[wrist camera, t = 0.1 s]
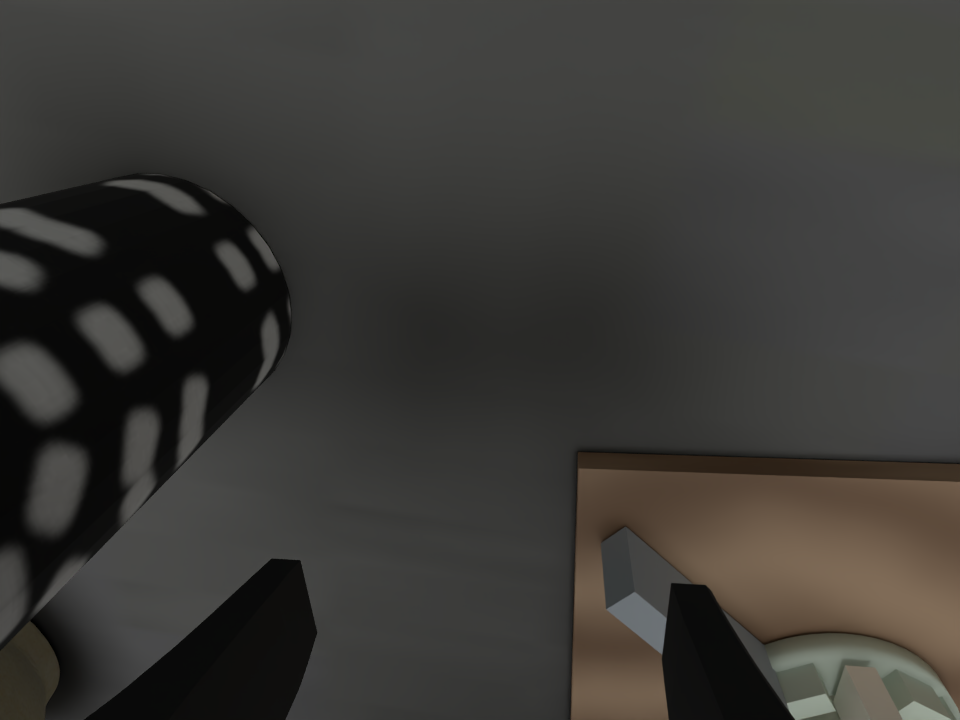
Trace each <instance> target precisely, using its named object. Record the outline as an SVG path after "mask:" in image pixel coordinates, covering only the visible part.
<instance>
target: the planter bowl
mask: <svg viewBox="0 0 960 720" xmlns="http://www.w3.org/2000/svg"><path fill="white" fill-rule="evenodd" d="M59 677H60V669H59V663H58V660H57V657H56V655H55V652H54V650H53V649H52V647H51V646H50V644H49V642H48V641H47V640H46V638H45V637H44V635H43V634H42V633H41V632H40V631H39V630H38V628H37V627H36V626H35V625H34V624H33V623H32V622H31V621H29V622H28V623H27V624H26V625H25V626H24V627H23V628H22V629H21V630H20V631H19V632H18V633H17V634H16V635H15V636H14V637H13V639H12V640H11V641H10V642H9V643H8V644H7V645H6V646H5V647H4V648H3V649H2V650H1V651H0V720H45V706H46V705H47V703H48V701H49V700H50V698H51V696H52V695H53V693H54V691H55V690H56V688H57V685H58V682H59Z"/></svg>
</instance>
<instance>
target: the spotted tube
mask: <svg viewBox="0 0 960 720" xmlns="http://www.w3.org/2000/svg"><path fill="white" fill-rule="evenodd" d="M290 328H291V308H290V300H289V293H288V290H287V286H286V283H285V280H284V277H283V274H282V271H281V269H280V267H279V265H278V263H277V261H276V259H275V258H274V256H273V254H272V252H271V250H270V248H269V246H268V245H267V244H266V242H265V241H264V240H263V239H262V237H261V236H260V235H259V233H258V232H257V231H256V229H255V228H254V227H253V226H252V225H251V224H250V223H249V222H248V221H247V220H246V219H245V218H244V217H243V216H242V215H241V214H240V213H239V212H238V211H237V210H236V209H234V208H233V207H232V206H231V205H229V204H228V203H226V202H225V201H223V200H222V199H220V198H219V197H217V196H216V195H215V194H213V193H212V192H210V191H208V190H206V189H204V188H201V187H199V186H197V185H195V184H192V183H190V182H188V181H186V180H182V179H178V178H174V177H170V176H165V175H161V174H133V175H128V176H123V177H118V178H113V179H109V180H104V181H100V182H96V183H91V184H87V185H82V186H78V187H74V188H69V189H65V190H60V191H56V192H52V193H47V194H43V195H39V196H34V197H30V198H25V199H21V200H17V201H12V202H8V203H4V204H0V651H1V650H2V649H3V648H4V647H5V646H6V645H7V644H8V643H9V642H10V641H11V640H12V639H13V637H14V636H15V635H16V634H17V633H18V632H19V631H20V630H21V629H22V628H23V627H24V626H25V625H26V624H27V623H28V622H29V621H30V620H31V619H32V618H33V617H34V616H35V615H36V614H37V613H38V612H39V611H40V610H41V609H42V608H43V607H44V606H45V605H46V604H47V603H48V602H49V601H50V600H51V599H52V598H53V597H54V596H55V595H56V594H57V592H58V591H59V590H60V589H61V588H62V587H63V586H64V585H65V584H66V583H67V582H68V581H69V580H70V579H71V578H72V577H73V576H74V575H75V574H76V573H77V572H78V571H79V570H80V569H81V568H82V567H83V566H84V565H85V564H86V563H87V562H88V561H89V560H90V559H91V558H92V557H93V556H94V555H95V554H96V553H97V552H98V551H99V550H100V549H101V547H102V546H103V545H104V544H105V543H106V542H107V541H108V540H109V539H110V538H111V537H112V536H113V535H114V534H115V533H116V532H117V531H118V530H119V529H120V528H121V527H122V526H123V525H124V524H125V523H126V522H127V521H128V520H129V519H130V518H131V517H132V516H133V515H134V514H135V513H136V512H137V511H138V510H139V509H140V508H141V507H142V506H143V505H144V504H145V502H146V501H147V500H148V499H149V498H150V497H151V496H152V495H153V494H154V493H155V492H156V491H157V490H158V489H159V488H160V487H161V486H162V485H163V484H164V483H165V482H166V481H167V480H168V479H169V478H170V477H171V476H172V475H173V474H174V473H175V472H176V471H177V470H178V469H179V468H180V467H181V466H182V465H183V464H184V463H185V462H186V461H187V460H188V459H189V458H190V456H191V455H192V454H193V453H194V452H195V451H196V450H197V449H198V448H199V447H200V446H201V445H202V444H203V443H204V442H205V441H206V440H207V439H208V438H209V437H210V436H211V435H212V434H213V433H214V432H215V431H216V430H217V429H218V428H219V427H220V426H221V425H222V424H223V423H224V422H225V421H226V420H227V419H228V418H229V417H230V416H231V415H232V414H233V413H234V411H235V410H236V409H237V408H238V407H239V406H240V405H241V404H242V403H243V402H244V401H245V400H246V399H247V398H248V397H249V396H250V395H251V394H252V393H253V392H254V391H255V390H256V389H257V388H258V387H259V386H260V385H261V384H262V383H263V382H264V381H265V380H266V379H267V378H268V377H269V376H270V375H271V374H272V373H273V372H274V371H275V369H276V367H277V366H278V364H279V362H280V361H281V359H282V357H283V356H284V354H285V350H286V347H287V344H288V340H289V337H290Z"/></svg>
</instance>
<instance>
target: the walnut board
mask: <svg viewBox="0 0 960 720" xmlns="http://www.w3.org/2000/svg"><path fill="white" fill-rule="evenodd" d="M624 527H627V528H628V529H629V530H631V531H632V532H633V533H634V534H635V535H636V536H638V537H639V538H640V539H641V540H642V541H643V542H645V543H646V544H647V545H648V546H649V547H650V548H652V549H653V550H654V551H655V552H656V553H657V554H658V555H660V556H661V557H662V558H663V559H664V560H665V561H667V562H668V563H669V564H670V565H671V566H672V567H674V568H675V569H676V570H677V571H678V572H679V573H681V574H682V575H683V576H684V577H685V578H686V579H688V580H689V581H690V582H691V583H692V584H698V585H706V586H707V587H708V588H709V589H710V590H711V591H712V593H713V595H714V596H715V598H716V600H717V602H718V603H719V605H720V607H721V609H723V610H724V611H725V612H726V613H727V614H728V615H730V616H731V617H732V618H733V619H734V620H735V621H737V622H738V623H739V624H740V625H741V626H742V627H744V628H745V629H746V630H747V631H748V632H749V633H751V634H752V635H753V636H754V637H755V638H756V639H758V640H759V641H760V642H761V643H762V644H763V645H766V644H769V643H772V642H775V641H778V640H782V639H786V638H790V637H795V636H802V635H809V634H822V633H842V634H853V635H862V636H867V637H872V638H877V639H880V640H883V641H887V642H890V643H893V644H895V645H897V646H900V647H902V648H904V649H907V650H908V651H910V652H912V653H913V654H915V655H917V656H918V657H920V658H921V659H922V660H923V661H925V662H926V663H927V664H928V665H929V666H930V667H931V668H932V669H933V670H934V671H935V672H936V674H937V675H938V677H939V679H940V680H941V682H942V683H943V685H944V687H945V688H946V690H947V691H948V693H949V695H950V696H951V698H952V699H953V701H954V703H955V704H956V706H957V708H958V710H959V713H960V464H942V463H910V462H878V461H846V460H815V459H783V458H751V457H719V456H688V455H656V454H624V453H592V452H578V464H577V500H576V536H575V571H574V607H573V643H572V679H571V714H570V720H669V717H668V709H667V701H666V693H665V685H664V676H663V667H662V654H661V653H659V652H658V651H657V650H656V649H654V648H653V647H652V646H651V645H649V644H648V643H647V642H646V641H645V640H643V639H642V638H641V637H640V636H638V635H637V634H636V633H635V632H633V631H632V630H631V629H630V628H628V627H627V626H626V625H625V624H623V623H622V622H621V621H620V620H619V619H617V618H616V617H615V616H614V615H612V614H611V613H610V612H609V611H607V610H606V602H605V590H604V577H603V565H602V553H601V543H602V542H603V541H605V540H606V539H608V538H609V537H611V536H612V535H614V534H615V533H617V532H618V531H620V530H621V529H623V528H624Z"/></svg>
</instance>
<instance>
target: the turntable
mask: <svg viewBox="0 0 960 720" xmlns="http://www.w3.org/2000/svg"><path fill="white" fill-rule="evenodd" d="M601 553H602V565H603V577H604V590H605V602H606V610H607V611H609V612H610V613H611V614H612V615H614V616H615V617H616V618H617V619H619V620H620V621H621V622H622V623H623V624H625V625H626V626H627V627H628V628H630V629H631V630H632V631H633V632H635V633H636V634H637V635H638V636H640V637H641V638H642V639H643V640H645V641H646V642H647V643H648V644H649V645H651V646H652V647H653V648H654V649H656V650H657V651H658V652H659V653H661V654H662V652H663V644H664V636H665V628H666V620H667V612H668V604H669V596H670V588H671V583H682V584H692V583H691V582H690V581H689V580H688V579H686V578H685V577H684V576H683V575H682V574H681V573H679V572H678V571H677V570H676V569H675V568H674V567H672V566H671V565H670V564H669V563H668V562H667V561H665V560H664V559H663V558H662V557H661V556H660V555H658V554H657V553H656V552H655V551H654V550H653V549H652V548H650V547H649V546H648V545H647V544H646V543H645V542H643V541H642V540H641V539H640V538H639V537H638V536H636V535H635V534H634V533H633V532H632V531H631V530H629V529H628V528H627V527H624V528H623V529H621V530H620V531H618V532H617V533H615V534H614V535H612V536H611V537H609V538H608V539H606V540H605V541H603V542H602V543H601ZM722 610H723V609H722ZM723 612H724V614H725V615H726V617H727V619H728V620H729V622H730V624H731V625H732V627H733V629H734V630H735V632H736V633H737V635H738V637H739V638H740V640H741V641H742V643H743V644H744V646H745V648H746V649H747V651H748V652H749V654H750V655H751V657H752V658H753V660H754V661H755V663H756V664H757V666H758V667H759V669H760V670H761V672H762V673H763V675H764V676H765V678H766V679H767V681H768V682H769V683H770V685H771V686H772V688H773V689H774V691H775V692H776V693H777V695H778V696H779V698H780V699H781V701H782V702H783V703H784V705H785V706H786V708H787V709H788V710H789V712H790V713H791V715H792V716H793V717H794V719H795V720H800V719H804V718H809V717H813V716H817V715H821V714H826V713H830V712H834V711H836V710H835V708H834V705H833V703H832V701H831V698H830V696H829V695H836V692H837V688H838V685H839V682H840V679H841V676H842V673H843V670H844V667H845V665H847V666H860V667H874V668H876V670H877V672H878V674H879V676H880V677H881V679H882V681H883V683H884V685H885V687H886V689H887V691H888V693H889V695H890V696H891V698H892V700H893V702H894V704H895V706H896V708H897V710H898V712H899V713H900V715H901V717H902V719H903V720H960V713H959V710H958V708H957V706H956V704H955V703H954V701H953V699H952V698H951V696H950V695H949V693H948V691H947V690H946V688H945V687H944V685H943V683H942V682H941V680H940V679H939V677H938V675H937V674H936V672H935V671H934V670H933V669H932V668H931V667H930V666H929V665H928V664H927V663H926V662H925V661H923V660H922V659H921V658H920V657H918V656H917V655H915V654H913V653H912V652H910V651H908V650H907V649H904V648H902V647H900V646H897V645H895V644H893V643H890V642H887V641H883V640H880V639H877V638H872V637H867V636H862V635H853V634H842V633H822V634H809V635H802V636H795V637H790V638H786V639H782V640H778V641H775V642H772V643H769V644H766V645H763V644H762V643H761V642H760V641H759V640H758V639H756V638H755V637H754V636H753V635H752V634H751V633H749V632H748V631H747V630H746V629H745V628H744V627H742V626H741V625H740V624H739V623H738V622H737V621H735V620H734V619H733V618H732V617H731V616H730V615H728V614H727V613H726V612H725V611H724V610H723Z"/></svg>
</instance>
